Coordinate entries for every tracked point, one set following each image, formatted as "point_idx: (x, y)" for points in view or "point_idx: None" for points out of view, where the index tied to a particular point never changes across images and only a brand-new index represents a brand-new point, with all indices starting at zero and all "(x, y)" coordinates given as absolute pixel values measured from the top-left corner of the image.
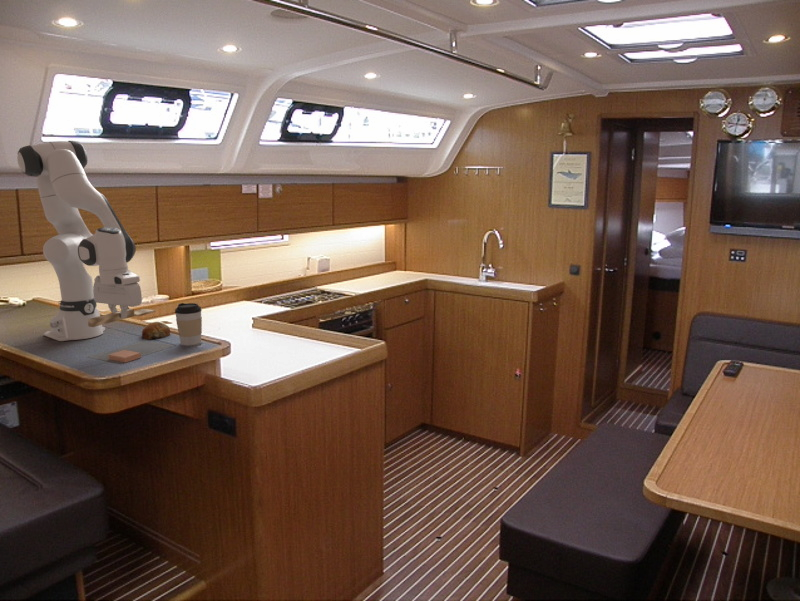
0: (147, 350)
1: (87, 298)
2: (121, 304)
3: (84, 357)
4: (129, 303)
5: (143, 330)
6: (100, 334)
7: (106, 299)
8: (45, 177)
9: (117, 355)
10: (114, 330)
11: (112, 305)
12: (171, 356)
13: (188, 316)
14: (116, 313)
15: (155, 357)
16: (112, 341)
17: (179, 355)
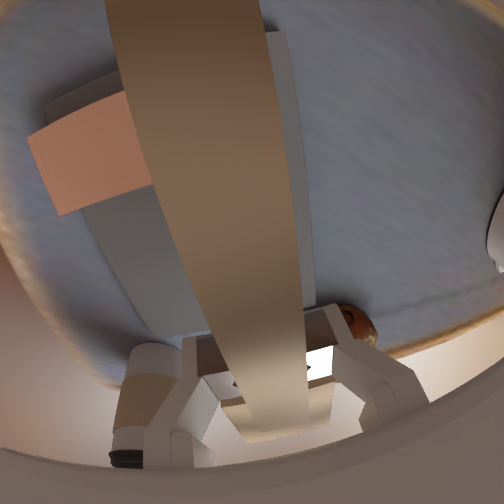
0: (158, 262)
1: None
2: (106, 480)
3: (339, 50)
4: (3, 474)
5: (358, 332)
6: (487, 244)
7: (449, 459)
8: None
9: (82, 118)
10: (478, 281)
11: (370, 413)
12: (68, 288)
13: (112, 444)
14: (236, 355)
15: (84, 251)
16: (427, 237)
17: (67, 305)
